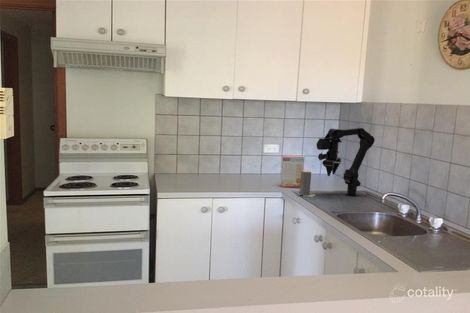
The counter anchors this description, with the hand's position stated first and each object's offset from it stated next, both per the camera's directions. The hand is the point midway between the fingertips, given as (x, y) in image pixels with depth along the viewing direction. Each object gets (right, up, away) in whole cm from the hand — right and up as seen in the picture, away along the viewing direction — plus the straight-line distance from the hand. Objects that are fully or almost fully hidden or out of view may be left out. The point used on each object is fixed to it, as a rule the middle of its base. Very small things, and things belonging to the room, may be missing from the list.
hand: (331, 175), depth 257 cm
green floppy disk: (-14, -12, 0) cm, 19 cm away
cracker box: (-21, -9, +24) cm, 33 cm away
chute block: (-16, -12, 0) cm, 20 cm away
